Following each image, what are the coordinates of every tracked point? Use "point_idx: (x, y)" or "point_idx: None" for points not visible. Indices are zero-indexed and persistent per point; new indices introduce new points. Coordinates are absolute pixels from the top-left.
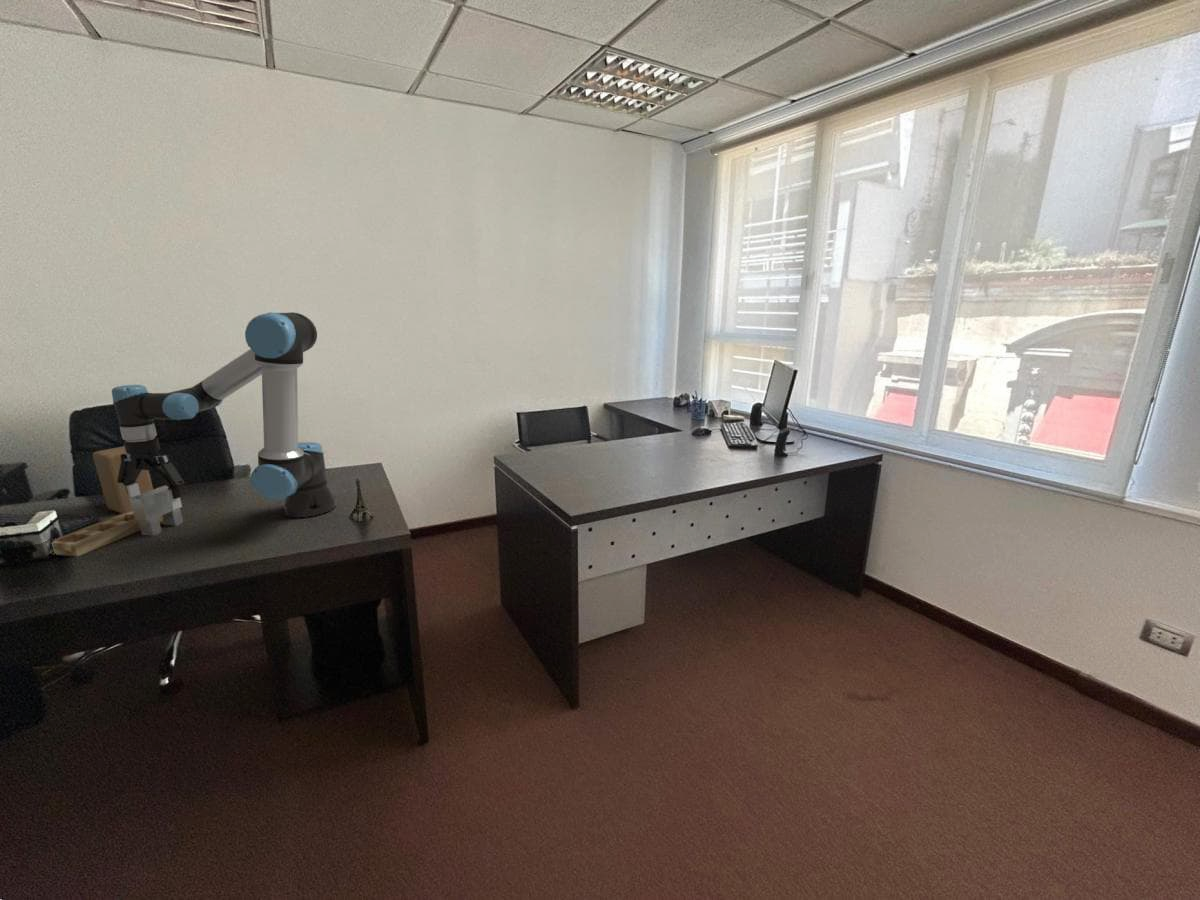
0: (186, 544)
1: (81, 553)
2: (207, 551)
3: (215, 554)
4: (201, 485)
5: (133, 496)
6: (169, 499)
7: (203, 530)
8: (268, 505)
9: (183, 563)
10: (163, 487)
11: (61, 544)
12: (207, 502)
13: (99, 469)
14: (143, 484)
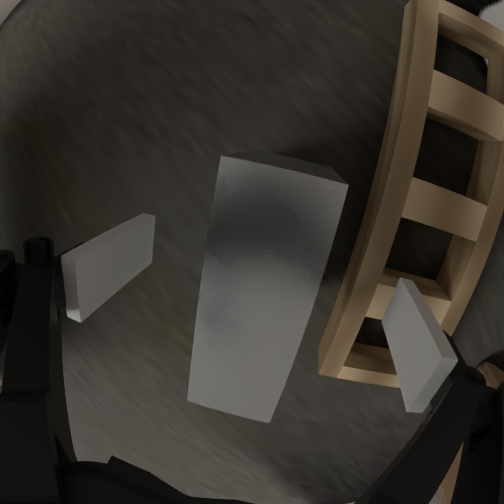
0: (99, 94)
1: (405, 16)
2: (36, 71)
3: (18, 64)
4: (364, 492)
5: (410, 318)
6: (119, 234)
7: (119, 203)
8: (93, 369)
9: (54, 9)
10: (251, 393)
11: (472, 16)
12: (280, 425)
13: None
14: (453, 462)
